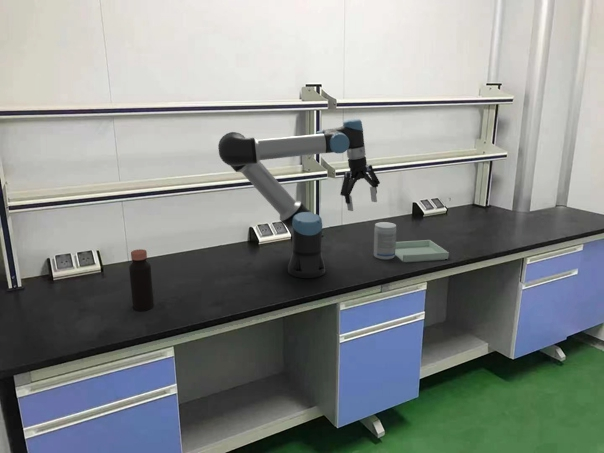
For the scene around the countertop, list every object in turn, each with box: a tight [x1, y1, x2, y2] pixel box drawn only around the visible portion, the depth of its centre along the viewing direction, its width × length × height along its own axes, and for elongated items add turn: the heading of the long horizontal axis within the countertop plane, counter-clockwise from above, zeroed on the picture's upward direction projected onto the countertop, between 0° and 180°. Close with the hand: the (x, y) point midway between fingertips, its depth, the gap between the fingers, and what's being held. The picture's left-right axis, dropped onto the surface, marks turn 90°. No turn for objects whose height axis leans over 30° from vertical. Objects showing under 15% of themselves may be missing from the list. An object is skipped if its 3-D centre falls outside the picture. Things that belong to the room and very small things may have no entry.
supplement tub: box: [373, 221, 397, 260], centre depth 216 cm, size 10×10×15 cm
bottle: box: [128, 248, 155, 312], centre depth 164 cm, size 7×7×20 cm
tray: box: [395, 239, 450, 264], centre depth 222 cm, size 21×18×3 cm
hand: (362, 206), depth 210 cm, fingers open, 13 cm apart
